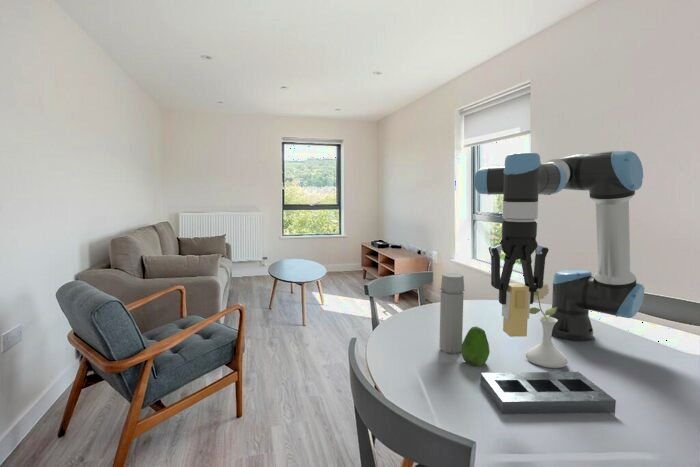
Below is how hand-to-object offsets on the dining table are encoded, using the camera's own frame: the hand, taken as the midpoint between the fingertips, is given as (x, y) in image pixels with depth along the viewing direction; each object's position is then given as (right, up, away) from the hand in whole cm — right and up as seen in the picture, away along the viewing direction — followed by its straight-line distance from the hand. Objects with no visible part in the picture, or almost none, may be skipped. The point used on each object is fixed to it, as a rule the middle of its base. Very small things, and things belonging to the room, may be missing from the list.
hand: (515, 316), depth 92 cm
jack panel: (+8, -21, +2) cm, 23 cm away
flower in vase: (+18, -19, +23) cm, 35 cm away
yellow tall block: (0, -4, 0) cm, 4 cm away
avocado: (-3, -19, +22) cm, 30 cm away
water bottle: (-7, -18, +34) cm, 39 cm away
